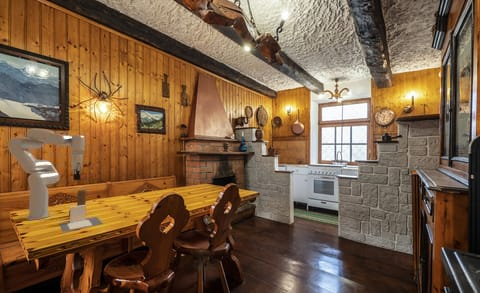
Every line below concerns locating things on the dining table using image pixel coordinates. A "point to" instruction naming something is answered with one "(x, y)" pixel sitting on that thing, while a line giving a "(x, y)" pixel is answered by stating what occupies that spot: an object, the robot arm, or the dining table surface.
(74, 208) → the deck
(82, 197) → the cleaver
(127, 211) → the dining table surface
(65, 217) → the dining table surface
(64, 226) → the mat
